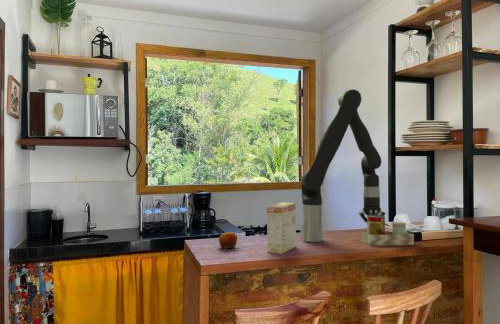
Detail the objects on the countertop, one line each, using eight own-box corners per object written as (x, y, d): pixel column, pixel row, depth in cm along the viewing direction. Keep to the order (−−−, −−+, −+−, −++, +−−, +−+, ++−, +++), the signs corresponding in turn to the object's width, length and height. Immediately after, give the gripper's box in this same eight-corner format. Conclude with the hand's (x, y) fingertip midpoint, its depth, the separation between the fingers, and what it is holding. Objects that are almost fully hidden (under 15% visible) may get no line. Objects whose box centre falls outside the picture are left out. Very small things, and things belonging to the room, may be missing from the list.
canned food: (387, 243, 169) (387, 216, 169) (369, 243, 169) (369, 216, 169) (382, 239, 177) (381, 214, 177) (365, 239, 177) (365, 214, 177)
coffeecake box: (282, 245, 166) (281, 201, 166) (296, 246, 162) (296, 202, 163) (266, 252, 153) (266, 205, 153) (281, 254, 150) (281, 206, 150)
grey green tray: (369, 245, 164) (369, 235, 164) (361, 240, 174) (361, 231, 174) (413, 244, 165) (413, 234, 165) (403, 240, 175) (403, 230, 175)
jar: (395, 243, 167) (395, 224, 167) (390, 241, 173) (390, 222, 173) (408, 243, 167) (408, 223, 167) (402, 241, 173) (402, 221, 173)
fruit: (225, 248, 155) (221, 230, 158) (219, 254, 161) (215, 237, 164) (242, 246, 158) (238, 228, 162) (235, 252, 164) (231, 235, 168)
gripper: (361, 196, 174) (361, 233, 174) (388, 196, 175) (388, 232, 175) (355, 195, 181) (355, 230, 181) (381, 194, 182) (382, 229, 182)
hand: (372, 231), depth 178 cm, fingers closed
